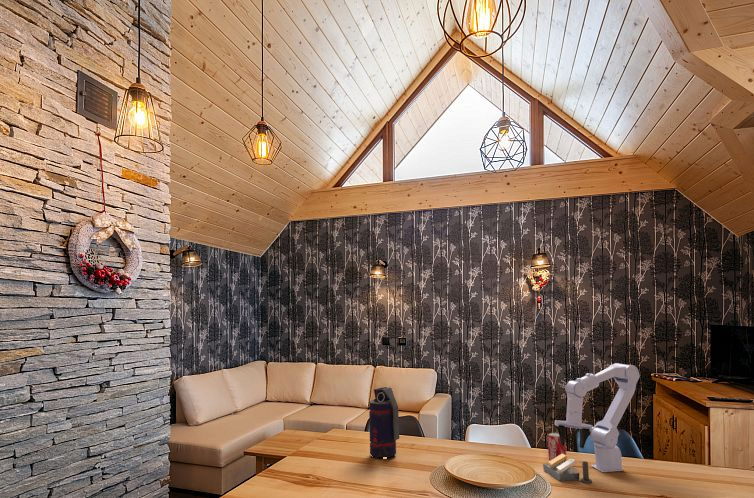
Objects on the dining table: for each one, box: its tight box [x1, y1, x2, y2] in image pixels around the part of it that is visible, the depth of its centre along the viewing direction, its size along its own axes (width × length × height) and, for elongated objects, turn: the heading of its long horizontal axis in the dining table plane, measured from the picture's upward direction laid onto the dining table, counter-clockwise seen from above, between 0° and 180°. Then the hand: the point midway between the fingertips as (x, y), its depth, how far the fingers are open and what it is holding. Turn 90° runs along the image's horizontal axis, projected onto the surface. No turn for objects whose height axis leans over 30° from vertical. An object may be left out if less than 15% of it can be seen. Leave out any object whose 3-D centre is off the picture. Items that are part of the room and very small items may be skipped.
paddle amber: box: [547, 454, 568, 467], centre depth 194 cm, size 7×3×2 cm, turn 101°
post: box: [579, 461, 593, 484], centre depth 185 cm, size 4×4×7 cm
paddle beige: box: [556, 458, 577, 472], centre depth 188 cm, size 7×3×2 cm, turn 101°
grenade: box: [368, 386, 400, 458], centre depth 222 cm, size 14×12×30 cm
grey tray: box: [542, 462, 581, 482], centre depth 192 cm, size 8×13×4 cm, turn 8°
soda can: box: [547, 432, 567, 463], centre depth 206 cm, size 7×7×12 cm
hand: (572, 446), depth 195 cm, fingers open, 7 cm apart
